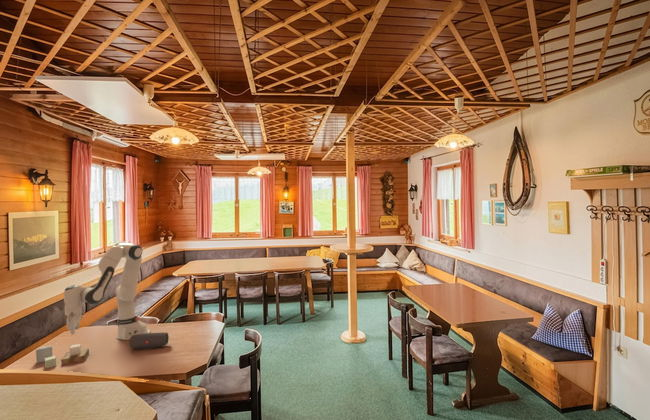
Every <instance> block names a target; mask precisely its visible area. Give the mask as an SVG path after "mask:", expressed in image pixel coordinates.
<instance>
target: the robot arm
mask: <svg viewBox="0 0 650 420" xmlns="http://www.w3.org/2000/svg"><path fill="white" fill-rule="evenodd" d="M142 255H143V248H142V246H141V245H139V244H135V243H131V242H123V241H122V242H117V243H115V244H114V245H112V246H110V247H109V248H108V249H107V250H106V251H105V253H104V255H103V256H101V258H100V259H99V261H98V264H97V265H98V270H99V271H100V273H101V275H100V277H99V279H98V281H97V283H96V285H95V286H94V287H90V286H82V285H78V284H74V285H70V286H67V287H66V288H65V289H64V291H63V302H64V315H65V316H67V317H66V319H65V320H66V330H68V331H70V335H71V336H72V335H75V334H76V330H79V329H80V322H81V320H82V317H83V309H84V308H83V303H88V304H90V305H96V304H99V303H101V301H103V299H104V297H105V293H106V290H107V288H108V286H109V283H111V280H112V278H113V277H114V274H115V270H116V268H117V266H118V265H119V263H120V262H121V259H122V258H125V263H124V266H123V269H122V274H121V279H120V280H121V281H120V285H118V286H117V287H116V289H115V294H116V295H115V298H116V305H117V334H116V339H118V340H122V341H127V340H130V338H131V336H132V335H138V334H147V333H151V329H150V328H148V327H147V325H146V323H145V322H143V321H141V320H139V315H136V309H135V308H136V307H135V306H136V305H135V300H134V299H135V298H136V296H137V288H138V281H139V280H138V279H139V275H140V271H141V267H142V261H143V260H142V259H143V257H142Z"/></svg>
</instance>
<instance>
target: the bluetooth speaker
mask: <svg viewBox="0 0 650 420" xmlns="http://www.w3.org/2000/svg"><path fill="white" fill-rule="evenodd" d="M169 338H170V337H169V333H168V332H166V331H165V332H150V333H147V334H138V335H132V336H131V338H130V339H129V349H141V350H148V349H150V350H151V349H157V348H158V347H162V346H163V347H164V346H167V345H168V343H169Z"/></svg>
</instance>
